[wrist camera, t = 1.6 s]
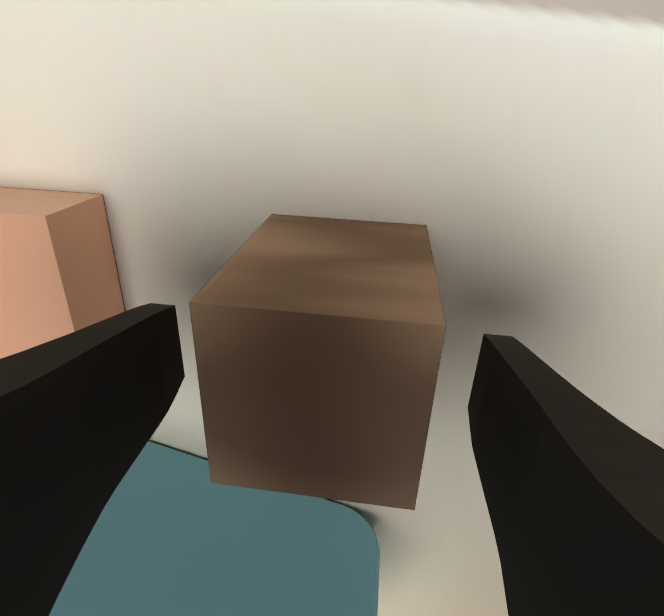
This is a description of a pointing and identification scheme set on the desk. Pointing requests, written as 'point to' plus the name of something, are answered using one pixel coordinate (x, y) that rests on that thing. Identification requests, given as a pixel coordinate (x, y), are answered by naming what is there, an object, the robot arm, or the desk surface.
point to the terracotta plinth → (53, 266)
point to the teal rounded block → (219, 550)
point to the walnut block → (321, 359)
